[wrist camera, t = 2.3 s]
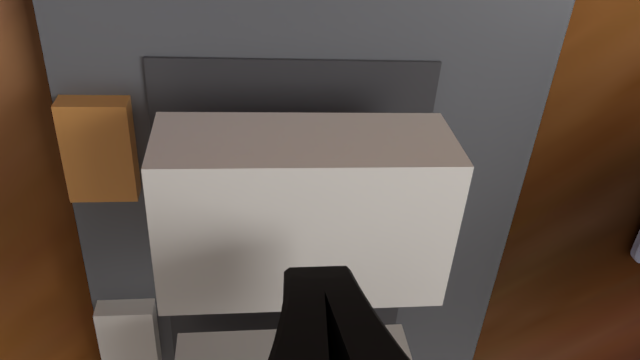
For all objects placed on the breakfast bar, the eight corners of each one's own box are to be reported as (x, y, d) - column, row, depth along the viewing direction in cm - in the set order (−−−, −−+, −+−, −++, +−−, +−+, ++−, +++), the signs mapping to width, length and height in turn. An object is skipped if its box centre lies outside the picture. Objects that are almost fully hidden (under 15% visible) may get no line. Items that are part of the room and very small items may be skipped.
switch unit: (559, -22, 18) (591, -2, 17) (427, 475, 32) (437, 512, 30) (40, -39, 16) (17, -20, 15) (138, 496, 30) (132, 537, 29)
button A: (440, 113, 16) (474, 167, 14) (417, 241, 19) (442, 305, 16) (156, 111, 15) (141, 169, 13) (169, 246, 18) (158, 316, 15)
